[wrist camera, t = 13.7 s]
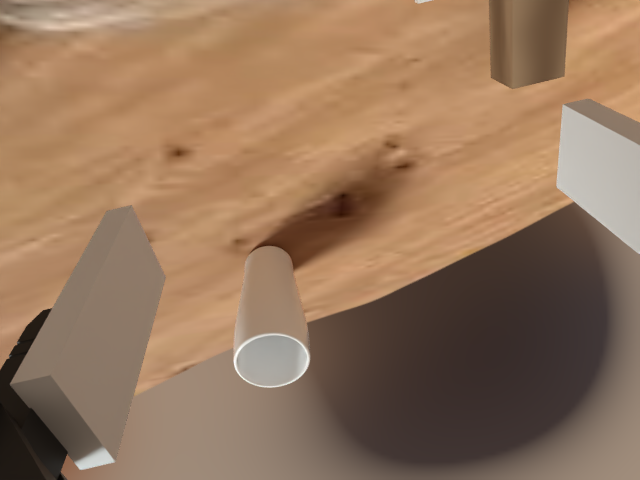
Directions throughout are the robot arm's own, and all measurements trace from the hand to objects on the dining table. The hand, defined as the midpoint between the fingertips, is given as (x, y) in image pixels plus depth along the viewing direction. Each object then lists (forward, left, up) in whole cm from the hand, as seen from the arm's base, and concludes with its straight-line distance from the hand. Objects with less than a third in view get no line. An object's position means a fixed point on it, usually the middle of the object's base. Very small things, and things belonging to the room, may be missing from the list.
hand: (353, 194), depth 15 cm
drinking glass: (-8, -23, -32) cm, 40 cm away
